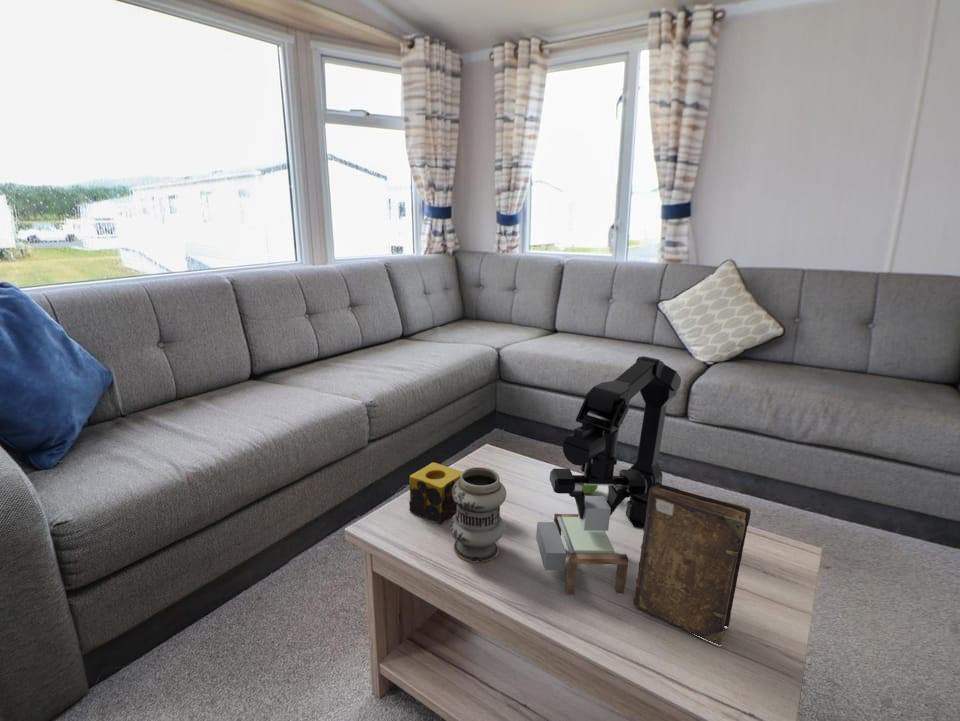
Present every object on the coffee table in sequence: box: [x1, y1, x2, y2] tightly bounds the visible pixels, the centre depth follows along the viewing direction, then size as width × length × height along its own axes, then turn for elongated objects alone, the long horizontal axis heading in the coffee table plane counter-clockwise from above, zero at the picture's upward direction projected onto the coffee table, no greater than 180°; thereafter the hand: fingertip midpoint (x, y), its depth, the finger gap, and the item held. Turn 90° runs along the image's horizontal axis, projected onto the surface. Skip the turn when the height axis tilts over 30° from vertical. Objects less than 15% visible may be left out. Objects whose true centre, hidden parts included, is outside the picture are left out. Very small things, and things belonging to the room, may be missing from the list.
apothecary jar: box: [449, 466, 507, 563], centre depth 114 cm, size 12×12×18 cm
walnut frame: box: [553, 513, 630, 595], centre depth 110 cm, size 12×16×8 cm
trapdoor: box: [535, 516, 616, 571], centre depth 110 cm, size 14×12×5 cm
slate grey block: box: [577, 495, 611, 532], centre depth 108 cm, size 5×5×5 cm
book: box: [632, 484, 752, 646], centre depth 95 cm, size 17×7×25 cm, turn 51°
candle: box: [408, 462, 463, 525], centre depth 130 cm, size 10×10×10 cm
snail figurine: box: [581, 473, 599, 495], centre depth 142 cm, size 5×6×12 cm
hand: (593, 518), depth 108 cm, fingers closed on slate grey block, 5 cm apart
